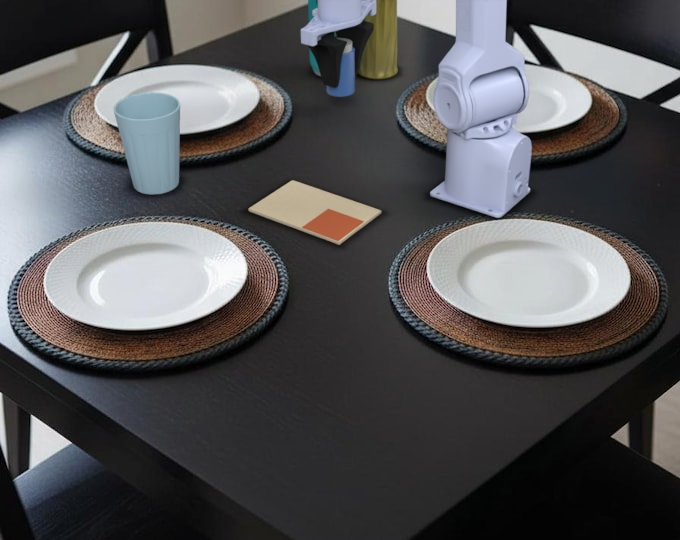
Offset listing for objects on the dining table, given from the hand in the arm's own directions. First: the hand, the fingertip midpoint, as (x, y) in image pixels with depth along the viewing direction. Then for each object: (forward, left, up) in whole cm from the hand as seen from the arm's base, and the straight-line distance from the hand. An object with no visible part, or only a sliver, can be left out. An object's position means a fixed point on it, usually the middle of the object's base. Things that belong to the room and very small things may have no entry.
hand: (340, 79), depth 143 cm
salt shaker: (0, 0, -2) cm, 2 cm away
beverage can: (+9, -10, -5) cm, 14 cm away
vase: (+3, -14, -5) cm, 15 cm away
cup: (+6, +30, -5) cm, 31 cm away
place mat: (-14, +25, -4) cm, 29 cm away
